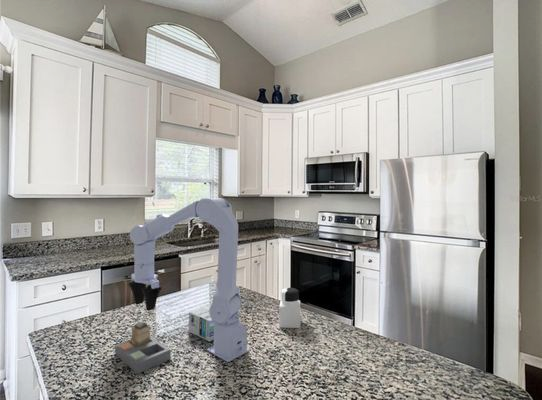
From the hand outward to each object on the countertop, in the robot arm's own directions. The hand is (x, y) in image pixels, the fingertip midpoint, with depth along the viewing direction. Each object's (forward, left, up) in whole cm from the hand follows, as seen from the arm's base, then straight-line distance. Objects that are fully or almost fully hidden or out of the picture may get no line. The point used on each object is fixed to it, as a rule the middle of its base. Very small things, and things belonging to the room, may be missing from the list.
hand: (144, 306), depth 92 cm
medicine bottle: (-28, -38, -10) cm, 48 cm away
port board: (-10, +6, -10) cm, 15 cm away
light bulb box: (-7, -16, -6) cm, 19 cm away
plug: (-7, +4, -10) cm, 12 cm away
